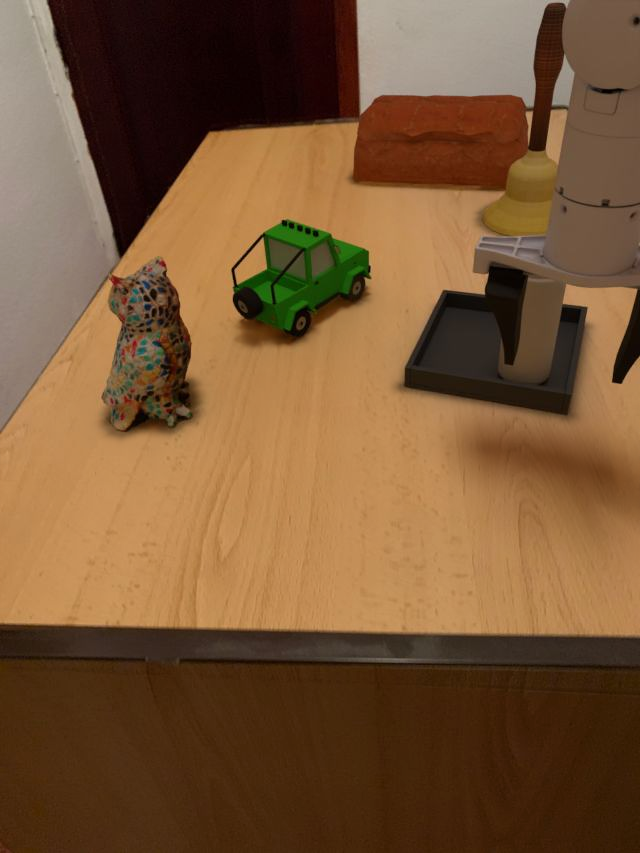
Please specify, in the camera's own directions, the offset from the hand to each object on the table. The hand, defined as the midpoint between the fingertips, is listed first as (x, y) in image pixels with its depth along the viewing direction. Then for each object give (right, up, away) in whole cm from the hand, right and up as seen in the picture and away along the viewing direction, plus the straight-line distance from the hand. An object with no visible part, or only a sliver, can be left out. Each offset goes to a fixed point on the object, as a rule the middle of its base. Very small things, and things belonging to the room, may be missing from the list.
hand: (562, 366), depth 49 cm
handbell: (+10, +24, +41) cm, 48 cm away
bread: (+1, +36, +56) cm, 67 cm away
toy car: (-20, +9, +27) cm, 35 cm away
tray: (0, +3, +18) cm, 18 cm away
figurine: (-34, -3, +16) cm, 38 cm away
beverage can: (+1, 0, +14) cm, 14 cm away
